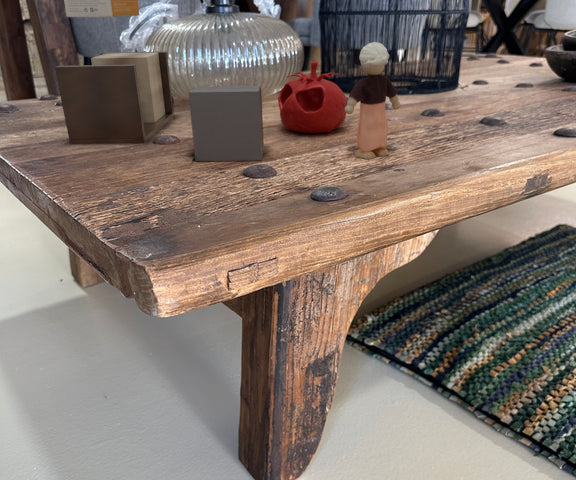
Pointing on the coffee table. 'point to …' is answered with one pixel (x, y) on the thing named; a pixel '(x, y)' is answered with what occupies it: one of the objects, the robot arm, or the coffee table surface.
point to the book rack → (116, 98)
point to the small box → (101, 8)
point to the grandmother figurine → (372, 102)
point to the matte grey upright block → (227, 123)
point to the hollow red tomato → (312, 103)
